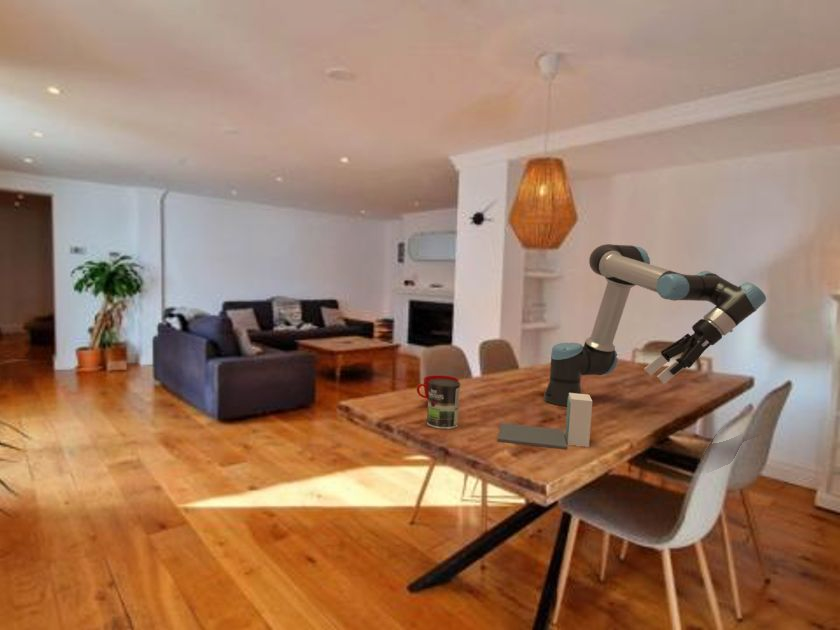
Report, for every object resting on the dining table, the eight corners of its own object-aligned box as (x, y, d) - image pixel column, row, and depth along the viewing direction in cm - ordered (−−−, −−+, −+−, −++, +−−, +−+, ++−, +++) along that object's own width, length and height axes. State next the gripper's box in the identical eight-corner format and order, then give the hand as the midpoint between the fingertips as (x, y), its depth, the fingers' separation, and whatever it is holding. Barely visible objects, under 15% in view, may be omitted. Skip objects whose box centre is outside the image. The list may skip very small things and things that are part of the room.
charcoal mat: (497, 441, 145) (497, 438, 145) (500, 425, 161) (500, 422, 161) (567, 449, 141) (567, 446, 141) (563, 432, 157) (563, 429, 156)
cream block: (585, 438, 151) (589, 394, 150) (588, 447, 144) (592, 401, 142) (564, 436, 153) (567, 392, 151) (566, 444, 145) (570, 398, 144)
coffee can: (443, 431, 152) (445, 387, 151) (420, 423, 159) (422, 381, 158) (464, 425, 159) (466, 383, 158) (441, 417, 167) (443, 377, 165)
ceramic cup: (407, 403, 182) (408, 377, 181) (444, 399, 191) (445, 374, 190) (425, 413, 171) (427, 385, 170) (464, 407, 180) (465, 381, 179)
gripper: (742, 341, 127) (676, 394, 130) (705, 333, 151) (651, 377, 155) (721, 320, 127) (656, 373, 131) (687, 315, 152) (634, 360, 156)
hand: (653, 376), depth 143 cm, fingers open, 13 cm apart
